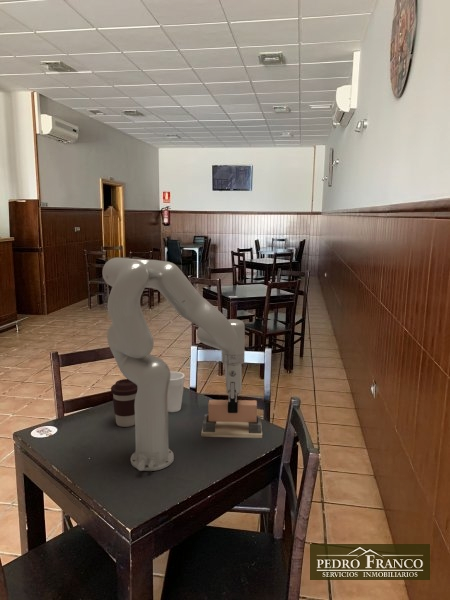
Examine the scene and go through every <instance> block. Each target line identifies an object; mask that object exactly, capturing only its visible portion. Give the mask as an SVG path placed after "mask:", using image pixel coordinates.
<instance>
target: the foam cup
mask: <svg viewBox="0 0 450 600" xmlns="http://www.w3.org/2000/svg"><path fill="white" fill-rule="evenodd" d="M170 374H171V377H170V384H169V390H168V413H176V412H179V411H180V410H181V408H182V402H183V393H184V387H185V381H186V379H185V375H186V374H185V373H183V372H180V371H170Z"/></svg>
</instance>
